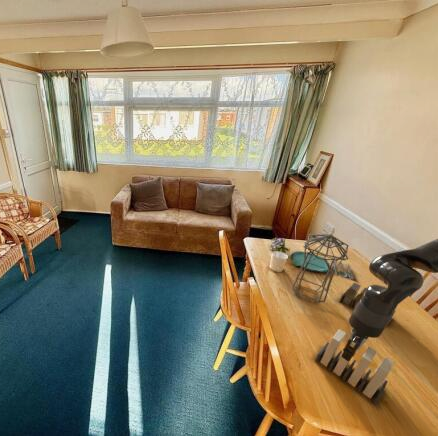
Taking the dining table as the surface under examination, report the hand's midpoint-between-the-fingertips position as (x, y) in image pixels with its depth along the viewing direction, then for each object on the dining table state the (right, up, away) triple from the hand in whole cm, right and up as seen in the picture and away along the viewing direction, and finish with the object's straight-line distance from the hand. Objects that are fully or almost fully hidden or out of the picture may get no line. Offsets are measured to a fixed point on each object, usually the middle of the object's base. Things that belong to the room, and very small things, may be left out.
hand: (349, 353), depth 76 cm
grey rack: (+31, +3, +28) cm, 42 cm away
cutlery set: (+34, +17, +58) cm, 70 cm away
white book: (0, -8, +4) cm, 9 cm away
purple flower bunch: (+18, +23, +73) cm, 79 cm away
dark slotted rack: (+1, -9, +3) cm, 10 cm away
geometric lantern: (+11, +6, +36) cm, 38 cm away
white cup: (+7, +15, +56) cm, 58 cm away
